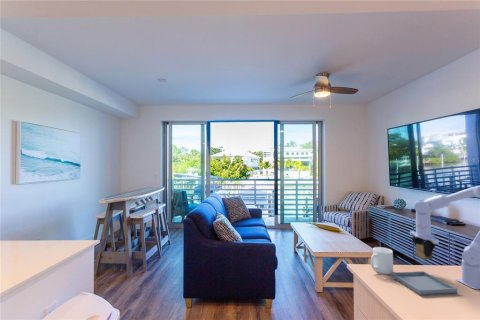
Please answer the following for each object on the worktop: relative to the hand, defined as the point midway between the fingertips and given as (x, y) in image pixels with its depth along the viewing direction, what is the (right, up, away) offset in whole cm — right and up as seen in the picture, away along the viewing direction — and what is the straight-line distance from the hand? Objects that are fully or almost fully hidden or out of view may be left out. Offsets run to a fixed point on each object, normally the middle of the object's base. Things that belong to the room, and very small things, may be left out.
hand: (423, 254), depth 117 cm
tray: (-10, -8, -12) cm, 18 cm away
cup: (-21, -9, +1) cm, 22 cm away
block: (0, -2, 0) cm, 2 cm away
